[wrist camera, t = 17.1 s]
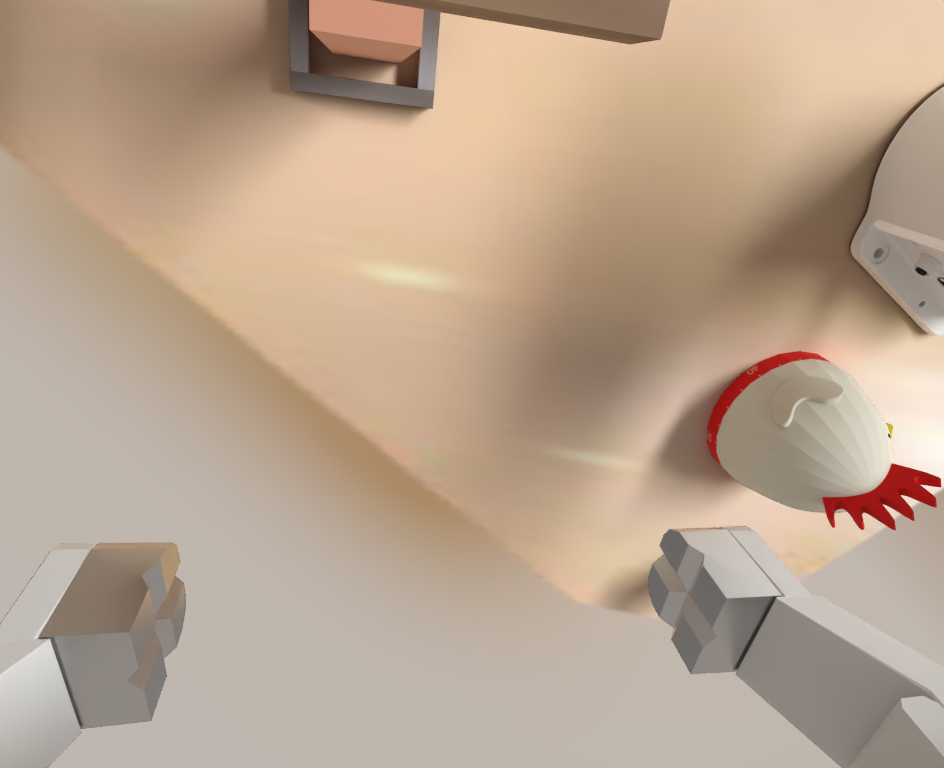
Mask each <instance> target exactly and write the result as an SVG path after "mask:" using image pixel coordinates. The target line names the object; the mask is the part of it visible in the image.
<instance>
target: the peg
mask: <svg viewBox="0 0 944 768" xmlns="http://www.w3.org/2000/svg"><path fill="white" fill-rule="evenodd" d="M423 16H424V9H419V8H413V7H407V6H402V5H396V4H390V3H384V2H378V1H372V0H309V30H310V31H311V32H312V33H313V34H314V35H315V36H316V37H317V38H318V39H319V40H320V41H321V42H322V43H323V44H324V45H325V46H326V47H327V48H328V49H329V50H330V51H331V52H332V53H333V54H339V55H345V56H352V57H359V58H366V59H372V60H379V61H386V62H393V63H401V62H402V61H403V60H405V59H406V58H407V57H409V56H410V55H411V54H413V53H414V52H415V51H417V50H418V49H419V48H421V45H422V30H423Z"/></svg>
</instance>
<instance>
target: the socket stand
mask: <svg viewBox="0 0 944 768" xmlns="http://www.w3.org/2000/svg"><path fill="white" fill-rule="evenodd" d="M372 1H378V2H384V3H390V4H396V5H402V6H407V7H413V8H419V9H424V16H423V30H422V45H421V48H419V52H418V67H417V82H416V88H411V87H404V86H397V85H389V84H382V83H375V82H368V81H361V80H354V79H347V78H339V77H332V76H325V75H318V74H311V72H310V30H309V0H289V30H290V69H291V90H296V91H304V92H311V93H319V94H326V95H334V96H341V97H349V98H356V99H364V100H371V101H379V102H386V103H394V104H401V105H409V106H416V107H424V108H431V109H433V98H434V86H435V73H436V61H437V48H438V36H439V23H440V12H443V13H449V14H454V15H460V16H466V17H472V18H478V19H484V20H490V21H496V22H502V23H507V24H513V25H519V26H525V27H531V28H537V29H543V30H549V31H554V32H560V33H566V34H572V35H578V36H584V37H590V38H596V39H602V40H607V41H613V42H619V43H625V44H635V43H641V42H647V41H653V40H660V39H661V37H662V33H663V29H664V24H665V20H666V16H667V12H668V8H669V3H670V0H372Z"/></svg>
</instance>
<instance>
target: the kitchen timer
mask: <svg viewBox="0 0 944 768" xmlns="http://www.w3.org/2000/svg"><path fill="white" fill-rule="evenodd" d="M892 430H893V426H892V425H890V424H888V423H886V422H885V420H884V419H883V417H882V415H881V414H880V412H879V411H878V409H877V408H876V406H875V405H874V403H873V402H872V401H871V399H870V398H869V397H868V395H867V394H866V393H865V392H864V390H863V389H862V388H861V386H860V385H859V384H858V383H857V382H856V380H855V379H854V378H853V377H852V376H850V375H849V374H848V373H847V372H846V371H844V370H843V369H841V368H840V367H838V366H836V365H835V364H833V363H831V362H830V361H828V360H826V359H824V358H823V357H821V356H819V355H818V354H814V353H807V352H801V351H798V352H791V353H784V354H779V355H776V356H774V357H771V358H769V359H766V360H764V361H761V362H759V363H757V364H756V365H754V366H753V367H751V368H750V369H748V370H747V371H745V372H744V373H743V374H741V375H740V376H739V377H738V378H737V379H736V380H735V381H734V382H733V383H732V384H731V385H730V386H729V387H728V388H727V389H726V390H725V391H724V393H723V394H722V396H721V397H720V399H719V401H718V402H717V404H716V405H715V407H714V409H713V411H712V415H711V418H710V421H709V424H708V432H707V443H708V446H709V449H710V451H711V454H712V456H713V458H714V459H715V460H716V461H717V462H718V463H719V464H720V465H721V466H722V467H723V468H724V469H725V470H726V471H727V472H728V473H729V474H730V475H731V476H732V477H733V478H734V479H735V480H737V481H738V482H739V483H741V484H742V485H744V486H746V487H748V488H749V489H751V490H753V491H755V492H757V493H759V494H761V495H763V496H765V497H767V498H769V499H771V500H774V501H776V502H779V503H781V504H783V505H786V506H789V507H791V508H795V509H799V510H804V511H810V512H822V513H826V515H827V518H828V520H829V522H830V524H831V526H832V527H833V528H835V521H834V513H840V512H846V511H847V512H848V513H849V514H850V515H851V516H852V518H853V520H854V521H855V523H856V524H857V526H858V527H859V528H860V529H862V530H863V529H864V523H863V517H862V513H864V512H865V513H867V514H869V515H871V516H872V517H874V518H875V519H877V520H878V521H880V522H882V523H883V524H885V525H886V526H888V527H889V528H891V529H893V530H896V528H895V521H894V519H893V518H892V516H891V515H890V514H889V512H888V511H887V510H886V508H885V507H884V506H883V505H882V504H884V505H887V506H889V507H891V508H893V509H894V510H896V511H898V512H899V513H901V514H902V515H904V516H906V517H908V518H909V519H911V520H913V521H914V512H913V510H912V509H911V507H910V506H909V505H908V504H907V502H906V501H905V500H904V499H903V498H902V497H901V496H900V495H905V496H908V497H911V498H913V499H915V500H918V501H920V502H922V503H925V504H927V505H930V506H932V507H937V504H936V498H935V497H934V496H933V495H932V494H931V493H930V492H928V491H927V490H926V489H924V488H923V487H922V486H920V485H928V486H934V487H941V479H940V478H939V477H936V476H934V475H931V474H928V473H925V472H922V471H919V470H915V469H911V468H908V467H904V466H900V465H897V464H894V453H893V446H892V440H891V439H892Z"/></svg>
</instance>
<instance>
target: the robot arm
mask: <svg viewBox="0 0 944 768" xmlns="http://www.w3.org/2000/svg"><path fill="white" fill-rule="evenodd" d="M850 250H851V254H852V256H853V257H854V258H855V259H856V260H857V261H858V262H859V263H860V264H861V266H862V267H863V268H864V269H865V270H866V271H867V272H868V273H869V274H870V275H871V276H872V277H873V278H874V279H875V280H876V281H877V282H878V283H879V284H880V285H881V286H882V288H883V289H884V290H885V291H886V292H887V293H888V294H889V295H890V296H891V297H892V298H893V299H894V300H895V301H896V302H897V303H898V304H899V305H900V306H901V307H902V308H903V310H904V311H905V312H906V313H907V314H908V315H909V316H910V317H911V318H912V319H913V320H914V321H915V322H916V323H917V324H918V325H919V326H920V327H921V328H922V329H923V330H924V331H925V332H926V333H928V334H932V335H935V336H941V335H944V87H942V88H941V89H939V90H938V91H937V92H935V93H934V94H933V95H932V96H930V97H929V98H928V99H927V100H926V101H925V102H924V103H923V104H922V105H921V106H919V107H918V108H917V110H916V111H915V112H914V113H913V114H912V115H911V116H910V117H909V118H908V120H907V121H906V122H905V123H904V125H903V126H902V127H901V129H900V130H899V131H898V133H897V134H896V136H895V137H894V139H893V141H892V142H891V144H890V146H889V147H888V149H887V151H886V153H885V155H884V157H883V159H882V161H881V164H880V166H879V169H878V171H877V174H876V177H875V181H874V184H873V189H872V194H871V198H870V203H869V207H868V211H867V214H866V216H865V218H864V219H863V221H862V223H861V225H860V227H859V228H858V230H857V232H856V234H855V236H854V238H853V241H852V244H851V249H850ZM875 251H876V252H875ZM874 253H875V254H874ZM660 547H661V549H662V551H663V553H664V554H663V555H662V556H661V557H660V558H659V559H658V560H657V561H655V562H654V563H653V564H652V568H651V571H650V574H649V577H648V581H649V594H650V598H651V601H652V604H653V606H654V608H655V610H656V612H657V614H658V616H659V617H660V618H661V619H662V620H664V621H665V622H666V623H668V624H669V625H670V626H672V627H673V632H672V638H671V640H672V641H673V643H674V645H675V647H676V648H677V650H678V652H679V654H680V656H681V658H682V659H683V661H684V663H685V664H686V666H687V668H688V670H689V672H690V674H700V673H701V674H702V673H720V672H736V675H737V676H738V677H739V678H740V679H741V680H743V681H744V682H745V683H746V684H747V685H748V686H749V687H751V688H752V689H753V690H754V691H755V692H756V693H757V694H759V695H760V696H761V697H762V698H763V699H764V700H766V702H768V703H769V704H770V705H771V706H772V707H773V708H774V709H776V710H777V711H778V712H779V713H780V714H781V715H782V716H783V717H785V718H786V719H787V720H788V721H789V722H790V723H791V724H793V725H794V726H795V727H796V728H797V729H798V730H799V731H801V732H802V733H803V734H804V735H805V736H806V737H808V738H809V739H810V740H811V741H812V742H813V743H814V744H815V745H816V746H818V747H819V748H820V749H821V750H822V751H823V752H824V753H825V754H827V755H828V756H829V757H830V758H831V759H832V760H833V761H835V762H836V763H837V764H838V765H839V766H840V767H841V768H944V667H942V666H941V665H939V664H937V663H936V662H934V661H932V660H930V659H929V658H927V657H925V656H924V655H922V654H920V653H918V652H917V651H915V650H913V649H911V648H910V647H908V646H906V645H904V644H903V643H901V642H899V641H898V640H896V639H894V638H892V637H891V636H889V635H887V634H885V633H883V632H882V631H880V630H878V629H877V628H875V627H873V626H872V625H870V624H868V623H866V622H865V621H863V620H861V619H859V618H858V617H856V616H854V615H853V614H851V613H849V612H847V611H845V610H844V609H842V608H840V607H839V606H837V605H835V604H833V603H832V602H830V601H828V600H827V599H825V598H823V597H821V596H820V595H810V594H809V593H808V591H807V590H806V589H805V588H804V587H803V586H802V585H801V583H800V582H799V581H798V580H797V579H796V578H795V577H794V575H793V574H792V573H791V572H790V571H789V570H788V569H787V567H786V566H785V565H784V564H783V563H782V562H781V561H780V559H779V558H778V557H777V556H776V555H775V554H774V553H773V552H772V550H771V549H770V548H769V547H768V546H767V545H766V544H765V542H764V541H763V540H762V539H761V538H760V537H759V536H758V534H757V533H756V532H755V531H754V530H752V529H750V528H748V527H747V526H733V527H720V528H716V527H713V528H686V529H669V530H668V531H667V532H666V533H665V534H664V535H663V538H662V540H661V543H660ZM179 563H180V557H179V553H178V548H177V545H176V544H174V543H99V544H60V545H58V546H57V547H55V548H54V549H52V550H51V551H50V552H49V554H48V555H47V557H46V558H45V559H44V561H43V562H42V564H41V565H40V567H39V568H38V570H37V571H36V572H35V574H34V575H33V577H32V578H31V580H30V581H29V582H28V584H27V585H26V587H25V588H24V590H23V591H22V593H21V594H20V596H19V597H18V598H17V600H16V601H15V603H14V604H13V606H12V607H11V609H10V610H9V612H8V613H7V614H6V616H5V617H4V619H3V620H2V622H1V623H0V768H48V767H49V766H50V765H51V764H52V763H53V762H54V761H55V760H56V759H57V758H58V757H59V756H60V755H61V754H62V753H63V752H64V750H66V749H67V748H68V746H70V745H71V743H72V742H73V741H74V740H75V739H76V738H77V737H78V736H79V735H80V734H81V729H85V728H94V727H103V726H110V725H111V726H112V725H120V724H128V723H137V722H146V721H151V720H152V717H153V714H154V711H155V708H156V705H157V702H158V699H159V697H160V694H161V691H162V688H163V685H164V682H165V679H166V677H167V674H166V669H165V663H164V658H165V657H166V656H167V655H169V654H170V653H171V652H172V651H173V650H174V649H175V648H176V647H177V644H178V641H179V638H180V635H181V632H182V628H183V621H184V616H185V609H186V594H185V587H184V583H183V582H182V581H181V580H180V579H179V578H177V577H176V576H175V574H176V571H177V569H178V566H179Z"/></svg>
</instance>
